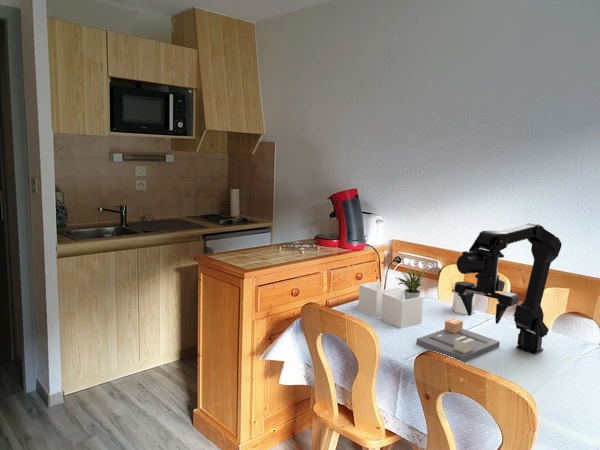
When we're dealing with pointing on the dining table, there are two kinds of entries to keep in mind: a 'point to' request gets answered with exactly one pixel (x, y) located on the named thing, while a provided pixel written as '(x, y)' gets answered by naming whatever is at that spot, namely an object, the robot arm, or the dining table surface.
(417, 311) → the white cube planter
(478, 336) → the mixer board
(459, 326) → the right fader
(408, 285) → the house plant
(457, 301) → the jar
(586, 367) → the dining table surface
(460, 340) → the left fader
